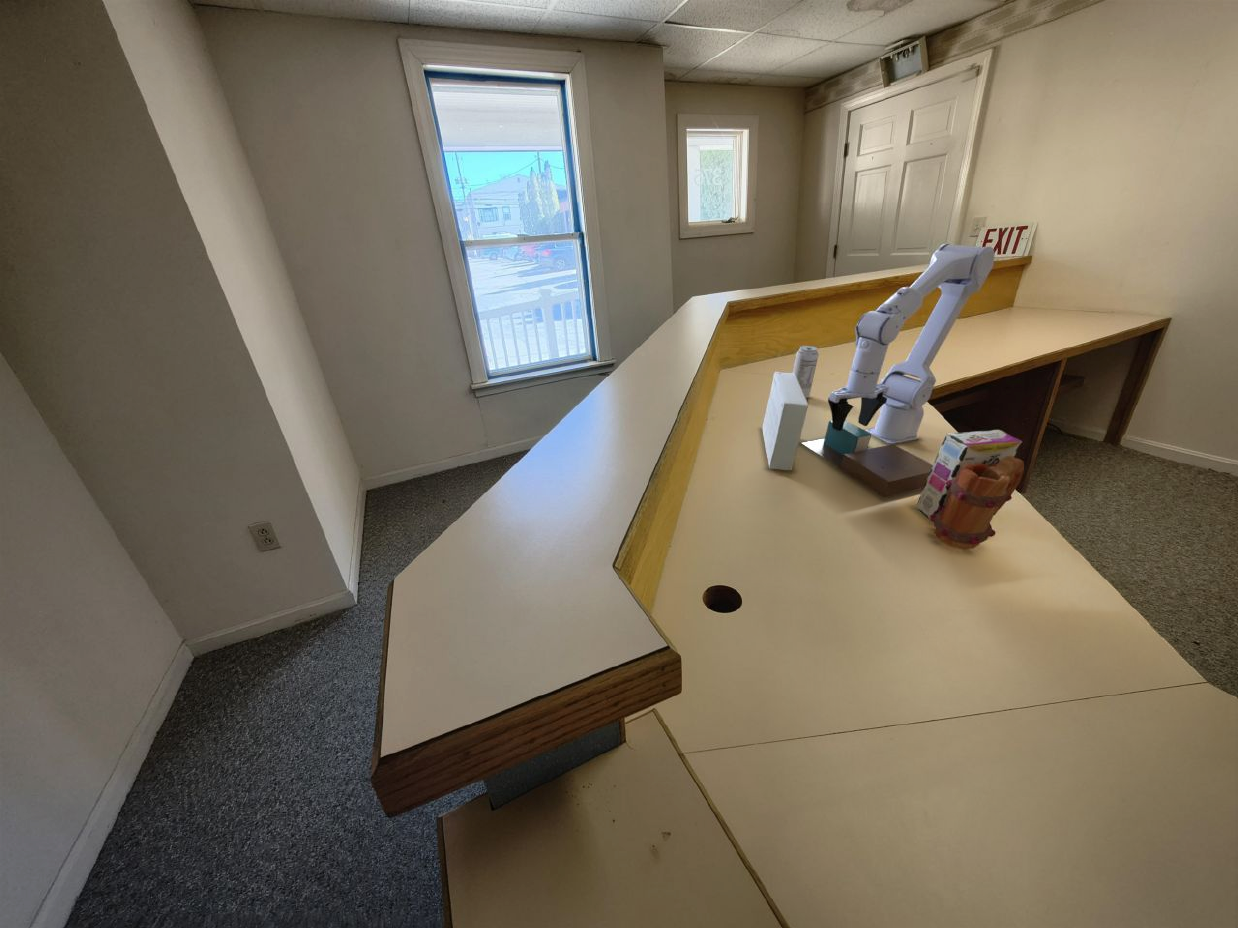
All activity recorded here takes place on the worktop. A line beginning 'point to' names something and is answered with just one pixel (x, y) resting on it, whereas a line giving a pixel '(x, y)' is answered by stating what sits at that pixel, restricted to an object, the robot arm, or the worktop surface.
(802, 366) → the energy drink can
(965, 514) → the mug
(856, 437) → the teal box
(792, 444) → the skincare box
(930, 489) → the candy bar box
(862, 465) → the step shelf
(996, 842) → the worktop surface
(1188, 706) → the worktop surface
